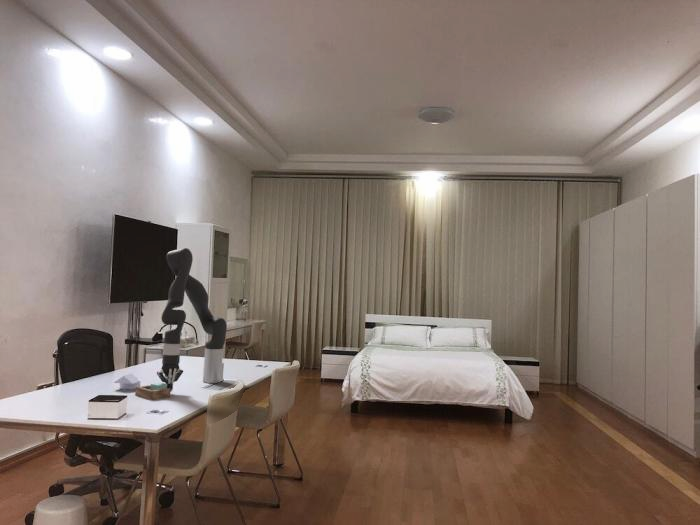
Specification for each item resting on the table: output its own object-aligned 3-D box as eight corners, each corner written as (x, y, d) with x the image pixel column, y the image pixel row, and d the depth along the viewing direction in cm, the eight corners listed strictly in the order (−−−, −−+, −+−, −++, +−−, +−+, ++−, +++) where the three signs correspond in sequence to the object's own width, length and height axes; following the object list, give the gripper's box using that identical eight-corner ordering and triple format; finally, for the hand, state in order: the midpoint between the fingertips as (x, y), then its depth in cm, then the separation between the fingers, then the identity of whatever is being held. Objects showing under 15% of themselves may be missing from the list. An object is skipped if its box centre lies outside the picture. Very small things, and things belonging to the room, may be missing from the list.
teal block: (160, 393, 253) (160, 382, 254) (166, 395, 250) (167, 384, 250) (150, 394, 250) (150, 383, 250) (156, 396, 246) (157, 385, 247)
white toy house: (132, 391, 256) (142, 386, 269) (133, 376, 256) (143, 372, 269) (112, 390, 256) (124, 385, 268) (113, 375, 256) (125, 371, 269)
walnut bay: (154, 392, 255) (155, 384, 255) (170, 397, 248) (170, 388, 248) (135, 395, 248) (135, 386, 248) (150, 399, 240) (150, 391, 240)
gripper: (179, 351, 262) (176, 388, 261) (153, 353, 252) (151, 391, 251) (188, 353, 257) (186, 391, 257) (163, 355, 247) (160, 394, 246)
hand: (168, 391), depth 254 cm, fingers closed
